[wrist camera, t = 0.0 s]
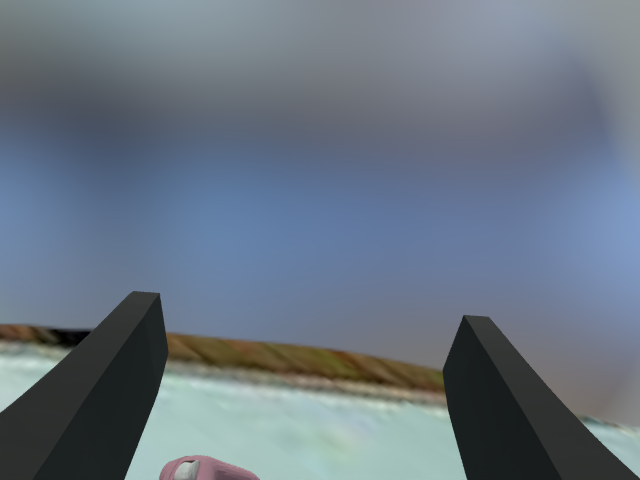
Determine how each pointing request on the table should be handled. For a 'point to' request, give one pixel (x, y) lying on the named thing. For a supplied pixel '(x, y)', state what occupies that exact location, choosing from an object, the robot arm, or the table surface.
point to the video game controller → (203, 470)
